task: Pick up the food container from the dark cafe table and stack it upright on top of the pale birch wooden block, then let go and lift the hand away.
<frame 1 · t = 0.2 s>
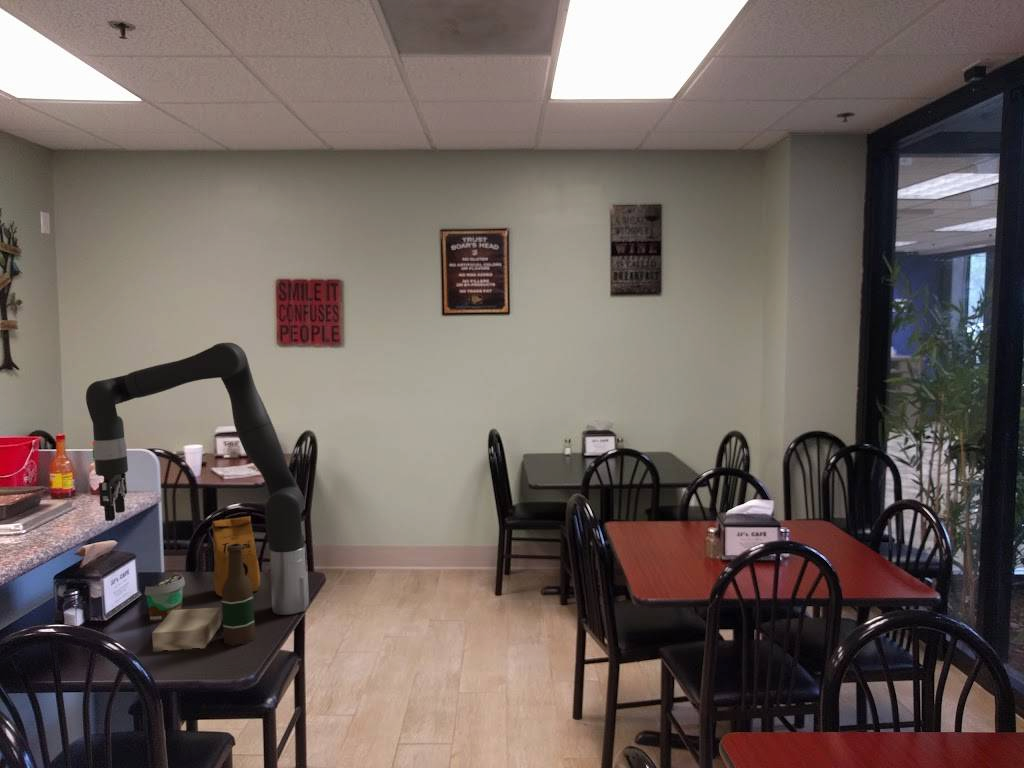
hand: (115, 516, 195), 28 cm above the table, tool pointing down, fingers open, 8 cm apart
beer bottle: (239, 640, 184), on the table
birch block: (188, 638, 186), on the table
food container: (172, 616, 200), on the table
coffee package: (237, 592, 217), on the table
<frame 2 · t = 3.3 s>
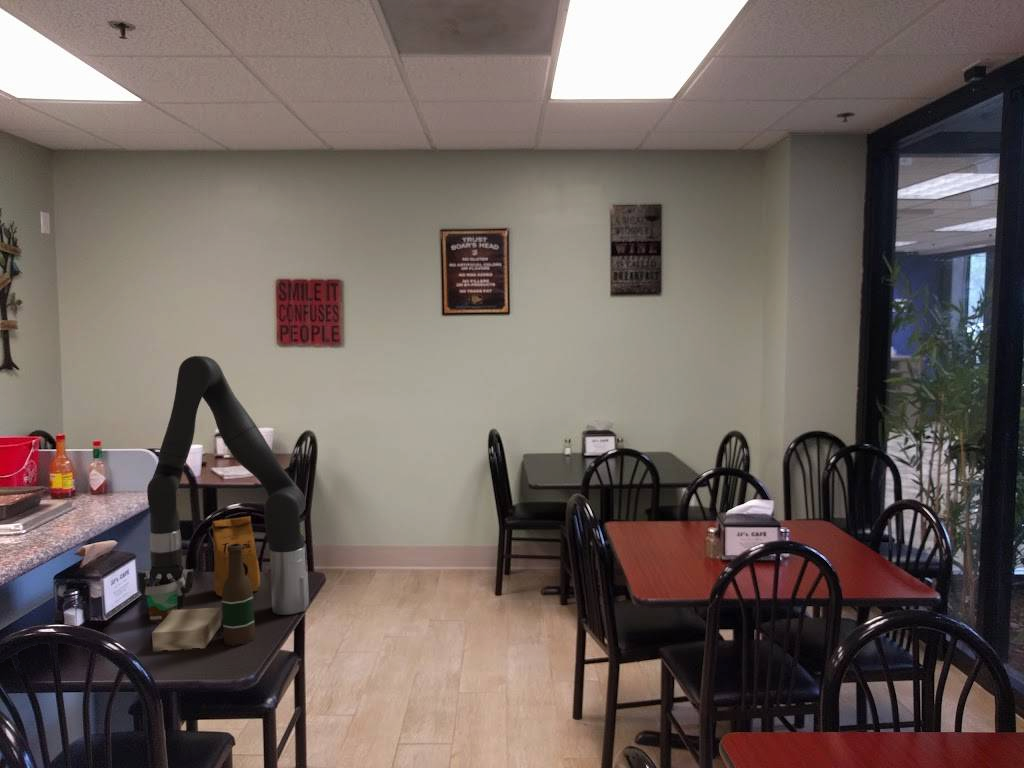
hand: (168, 608, 199), 2 cm above the table, tool pointing down, fingers closed on food container, 5 cm apart
food container: (172, 616, 200), on the table, touching gripper
everything else where it was.
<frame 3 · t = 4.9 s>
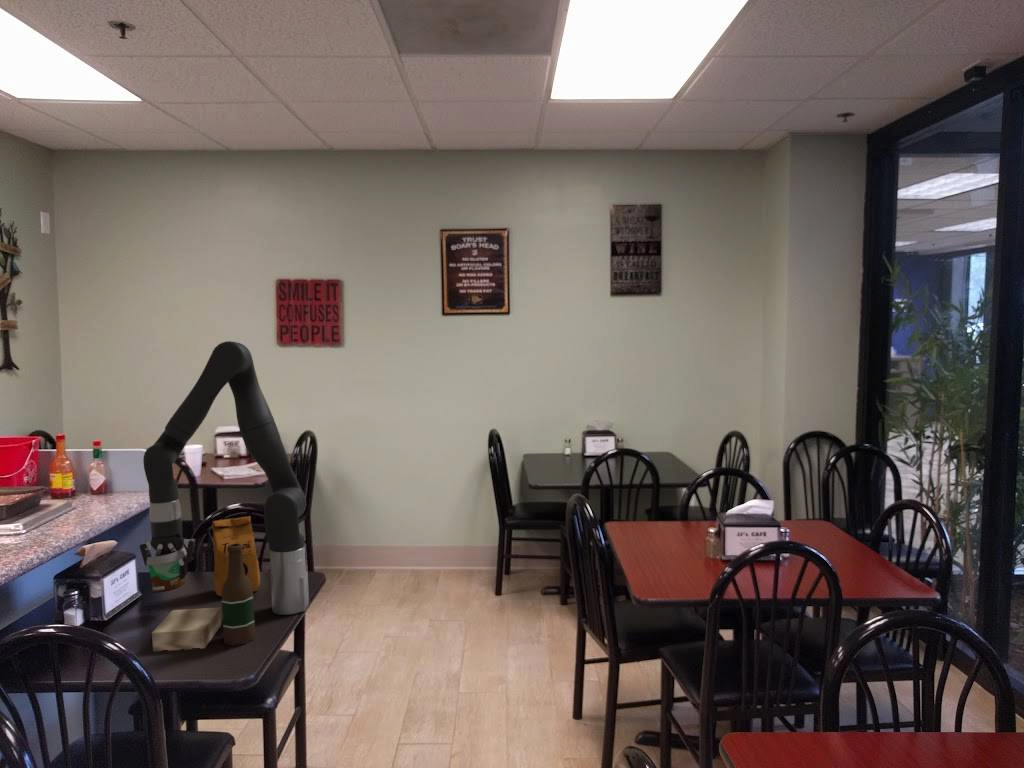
hand: (170, 578, 198), 10 cm above the table, tool pointing down, fingers closed on food container, 5 cm apart
food container: (175, 587, 199), point 8 cm above the table, touching gripper
everything else where it was.
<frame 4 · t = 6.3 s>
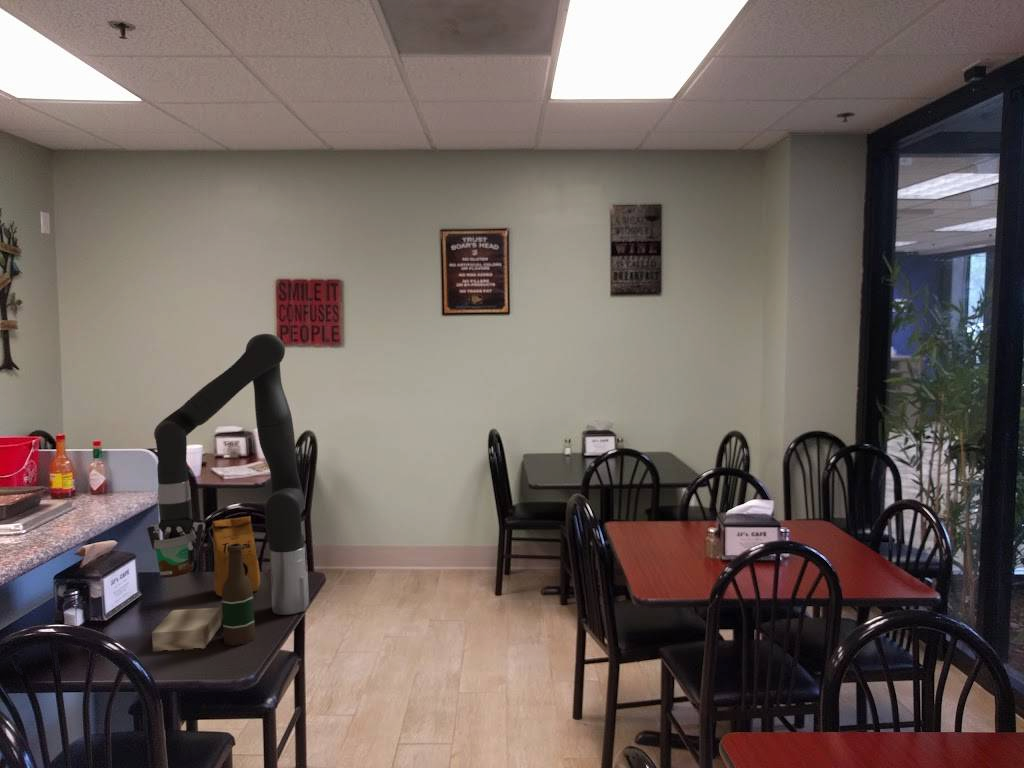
hand: (179, 563, 189), 17 cm above the table, tool pointing down, fingers closed on food container, 5 cm apart
food container: (183, 572, 190), point 15 cm above the table, touching gripper
everything else where it was.
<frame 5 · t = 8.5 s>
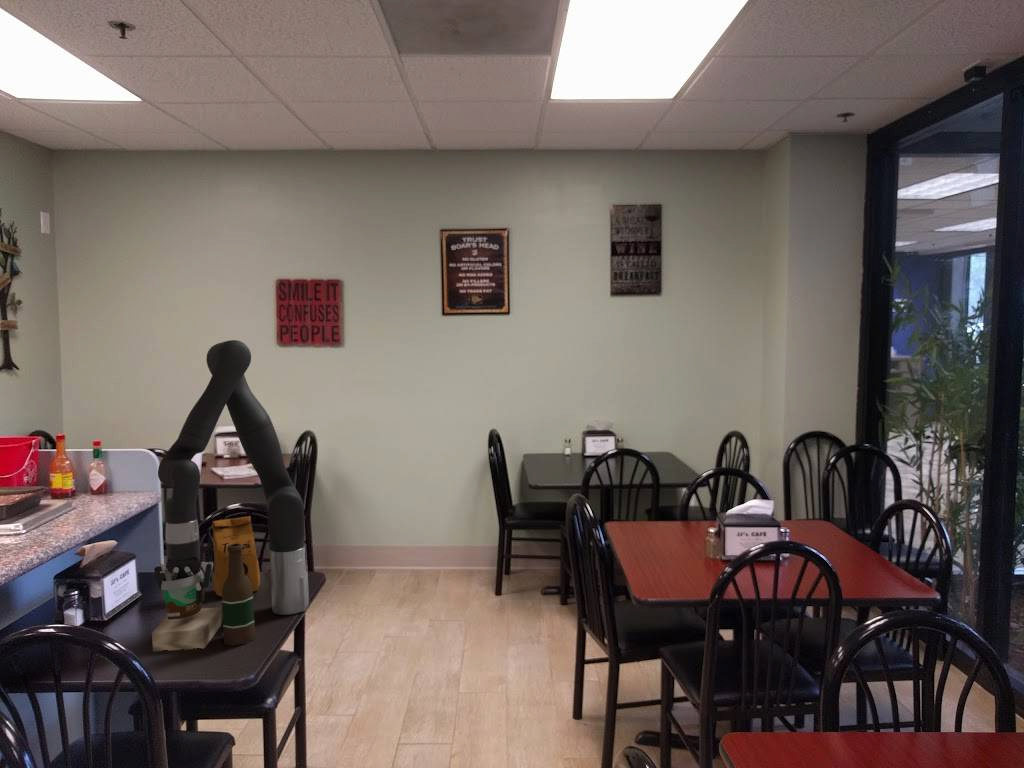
hand: (186, 604, 185), 9 cm above the table, tool pointing down, fingers closed on food container, 5 cm apart
food container: (190, 613, 185), point 6 cm above the table, touching gripper
everything else where it was.
when the fingers open (8 cm above the table, at t = 9.4 s): food container moves 2 cm, resting on birch block.
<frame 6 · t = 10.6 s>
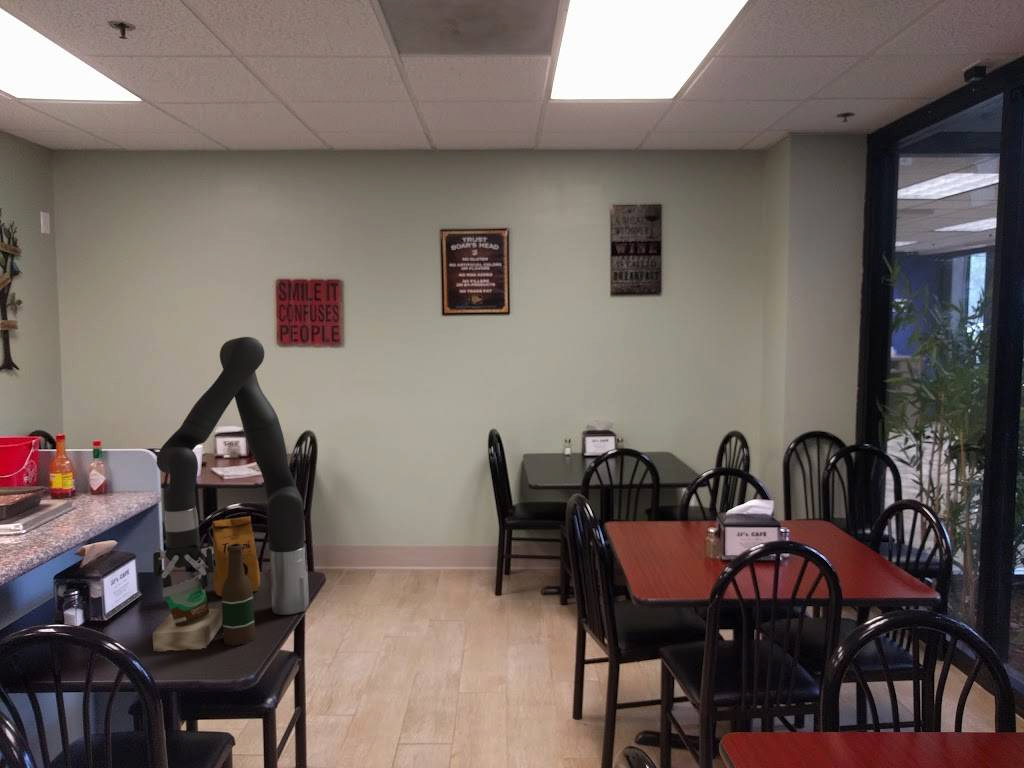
hand: (186, 589, 184), 12 cm above the table, tool pointing down, fingers open, 8 cm apart
birch block: (189, 639, 185), on the table, touching food container
food container: (199, 617, 185), point 5 cm above the table, touching birch block
everything else where it was.
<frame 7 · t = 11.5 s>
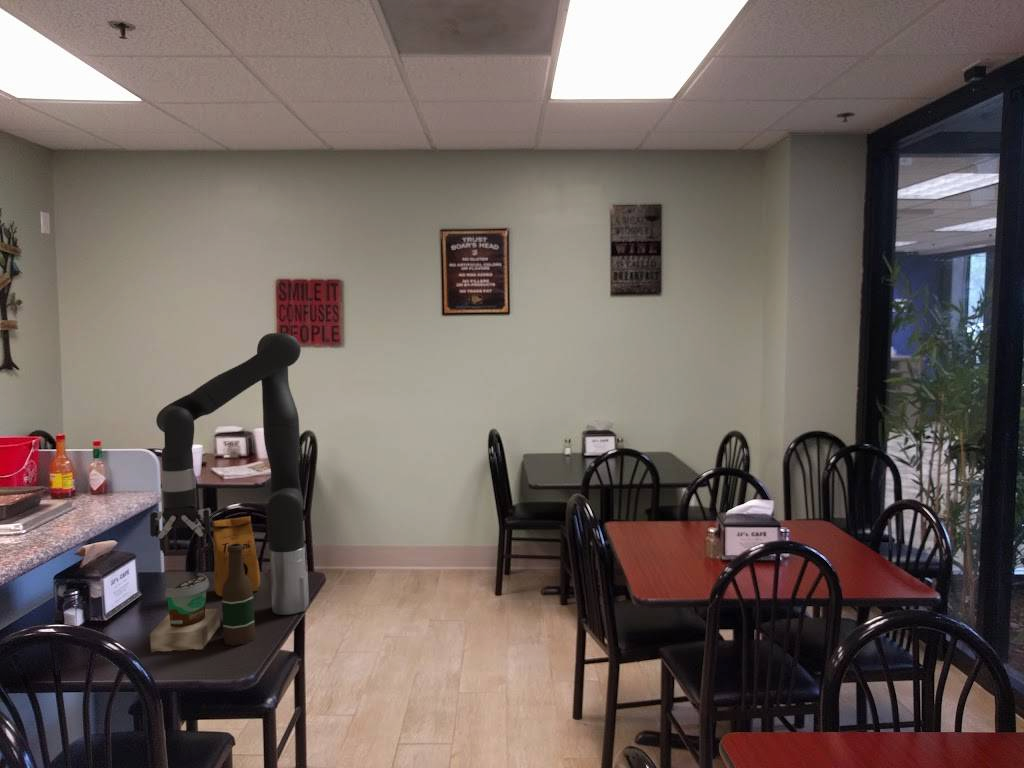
hand: (183, 551, 184), 22 cm above the table, tool pointing down, fingers open, 8 cm apart
birch block: (187, 640, 185), on the table
food container: (194, 621, 185), point 4 cm above the table
everything else where it was.
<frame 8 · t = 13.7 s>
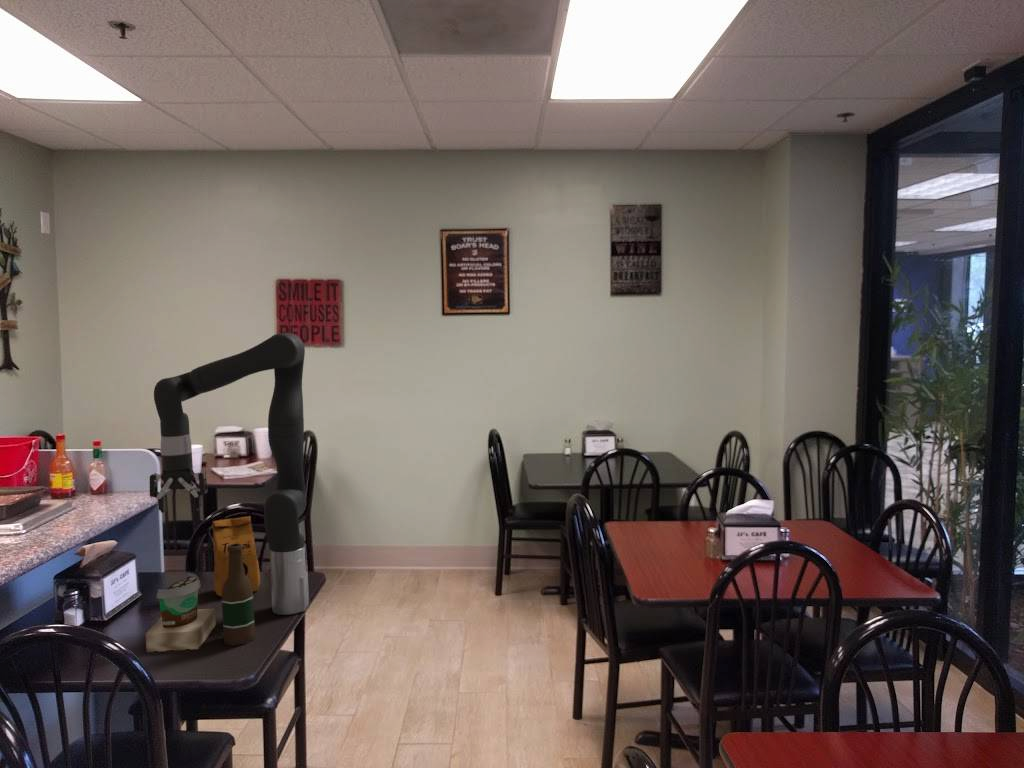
hand: (180, 511, 199), 28 cm above the table, tool pointing down, fingers open, 8 cm apart
birch block: (182, 640, 185), on the table, touching food container
food container: (186, 621, 185), point 4 cm above the table, touching birch block
everything else where it was.
at the end: food container inside the target area on the birch block (1.4 cm from its centre), point 4.8 cm above the birch block's base; food container tilted 1°; the gripper is holding nothing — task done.
